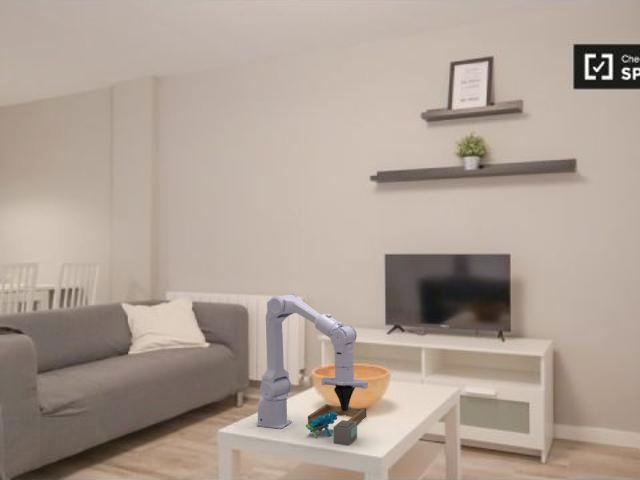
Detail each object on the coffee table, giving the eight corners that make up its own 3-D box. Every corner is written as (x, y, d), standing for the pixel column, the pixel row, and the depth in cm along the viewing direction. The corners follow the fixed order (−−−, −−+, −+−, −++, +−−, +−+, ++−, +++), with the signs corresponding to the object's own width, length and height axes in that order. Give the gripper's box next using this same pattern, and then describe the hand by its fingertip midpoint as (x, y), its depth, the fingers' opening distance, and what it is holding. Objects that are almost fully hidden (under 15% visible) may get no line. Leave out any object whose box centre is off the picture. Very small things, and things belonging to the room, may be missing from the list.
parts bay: (307, 425, 191) (307, 415, 191) (325, 412, 205) (325, 403, 205) (351, 430, 185) (350, 420, 185) (366, 417, 199) (366, 407, 199)
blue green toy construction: (332, 422, 189) (339, 406, 182) (339, 438, 185) (347, 423, 178) (302, 432, 184) (308, 416, 177) (309, 448, 180) (315, 433, 174)
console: (333, 443, 173) (333, 426, 173) (342, 436, 180) (341, 419, 180) (349, 445, 171) (349, 428, 171) (357, 438, 177) (357, 421, 177)
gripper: (317, 366, 175) (318, 411, 175) (362, 370, 169) (363, 416, 169) (326, 362, 181) (327, 405, 181) (369, 365, 175) (370, 409, 175)
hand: (345, 410), depth 175 cm, fingers closed
